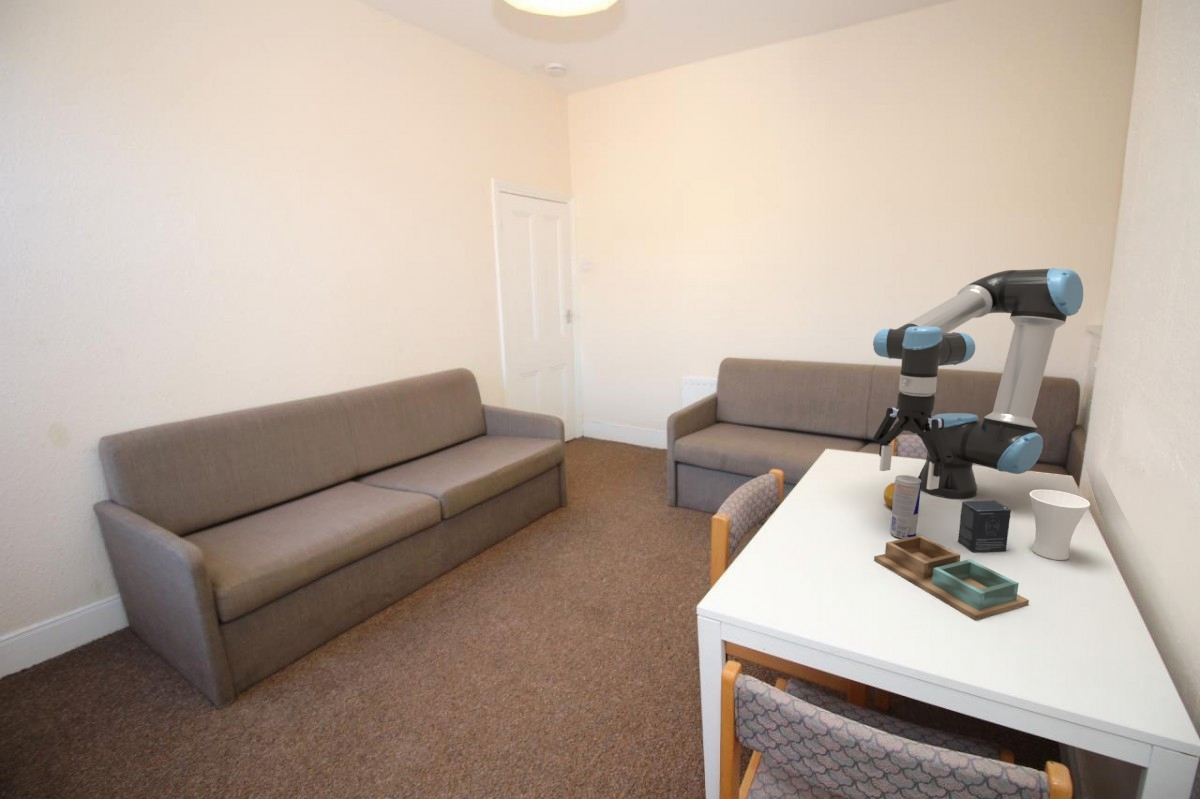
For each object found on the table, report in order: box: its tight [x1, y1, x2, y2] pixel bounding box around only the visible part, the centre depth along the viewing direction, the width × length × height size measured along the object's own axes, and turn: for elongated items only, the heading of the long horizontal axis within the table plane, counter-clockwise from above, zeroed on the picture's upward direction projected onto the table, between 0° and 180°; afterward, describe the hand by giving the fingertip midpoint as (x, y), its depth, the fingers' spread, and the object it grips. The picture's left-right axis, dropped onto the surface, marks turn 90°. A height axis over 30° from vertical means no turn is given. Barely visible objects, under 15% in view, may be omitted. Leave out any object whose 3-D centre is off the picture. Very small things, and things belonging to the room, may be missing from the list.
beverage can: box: [889, 474, 922, 539], centre depth 133 cm, size 6×6×15 cm
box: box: [957, 499, 1012, 553], centre depth 127 cm, size 8×6×11 cm
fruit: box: [883, 482, 895, 509], centre depth 150 cm, size 8×8×8 cm
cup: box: [1028, 489, 1091, 561], centre depth 123 cm, size 10×10×14 cm
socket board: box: [873, 534, 1030, 621], centre depth 114 cm, size 24×14×4 cm, turn 19°
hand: (907, 479), depth 132 cm, fingers open, 13 cm apart
